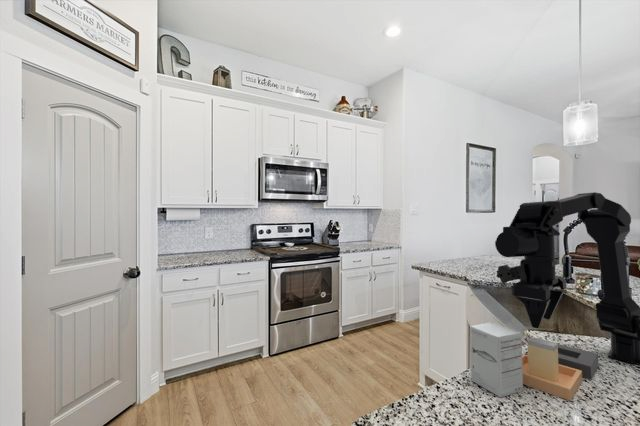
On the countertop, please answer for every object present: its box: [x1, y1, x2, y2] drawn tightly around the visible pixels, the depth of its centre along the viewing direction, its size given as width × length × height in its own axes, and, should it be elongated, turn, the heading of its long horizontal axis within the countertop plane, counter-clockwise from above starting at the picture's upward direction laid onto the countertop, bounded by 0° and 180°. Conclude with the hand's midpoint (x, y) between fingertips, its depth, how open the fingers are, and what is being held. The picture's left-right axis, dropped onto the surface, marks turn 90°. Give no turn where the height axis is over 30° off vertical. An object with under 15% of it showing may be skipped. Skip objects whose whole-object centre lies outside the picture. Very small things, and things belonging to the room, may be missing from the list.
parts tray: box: [522, 353, 583, 402], centre depth 68 cm, size 12×12×2 cm
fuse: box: [526, 336, 559, 383], centre depth 68 cm, size 3×5×8 cm, turn 39°
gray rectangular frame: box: [558, 343, 600, 381], centre depth 75 cm, size 10×12×3 cm
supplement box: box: [469, 321, 524, 398], centre depth 65 cm, size 7×7×13 cm
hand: (541, 323), depth 68 cm, fingers open, 9 cm apart
